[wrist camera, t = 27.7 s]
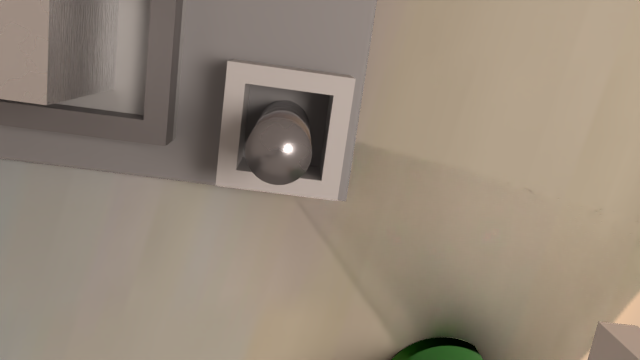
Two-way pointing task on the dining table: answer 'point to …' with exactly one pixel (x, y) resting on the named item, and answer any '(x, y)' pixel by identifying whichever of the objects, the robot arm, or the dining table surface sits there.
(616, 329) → the robot arm
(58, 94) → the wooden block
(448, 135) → the dining table surface
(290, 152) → the rounded metal cylinder
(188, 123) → the stand
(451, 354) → the motor
